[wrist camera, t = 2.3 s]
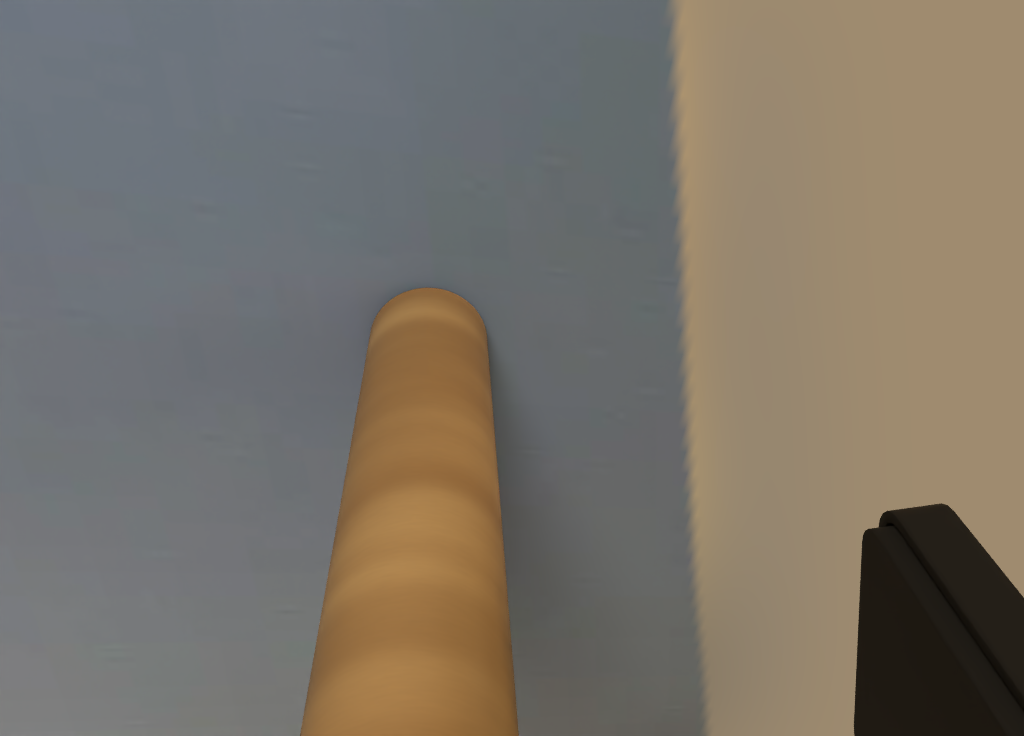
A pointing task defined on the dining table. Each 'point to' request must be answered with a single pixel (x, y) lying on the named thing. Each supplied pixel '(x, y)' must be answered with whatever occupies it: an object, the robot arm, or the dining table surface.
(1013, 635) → the robot arm
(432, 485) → the stick
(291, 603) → the dining table surface
